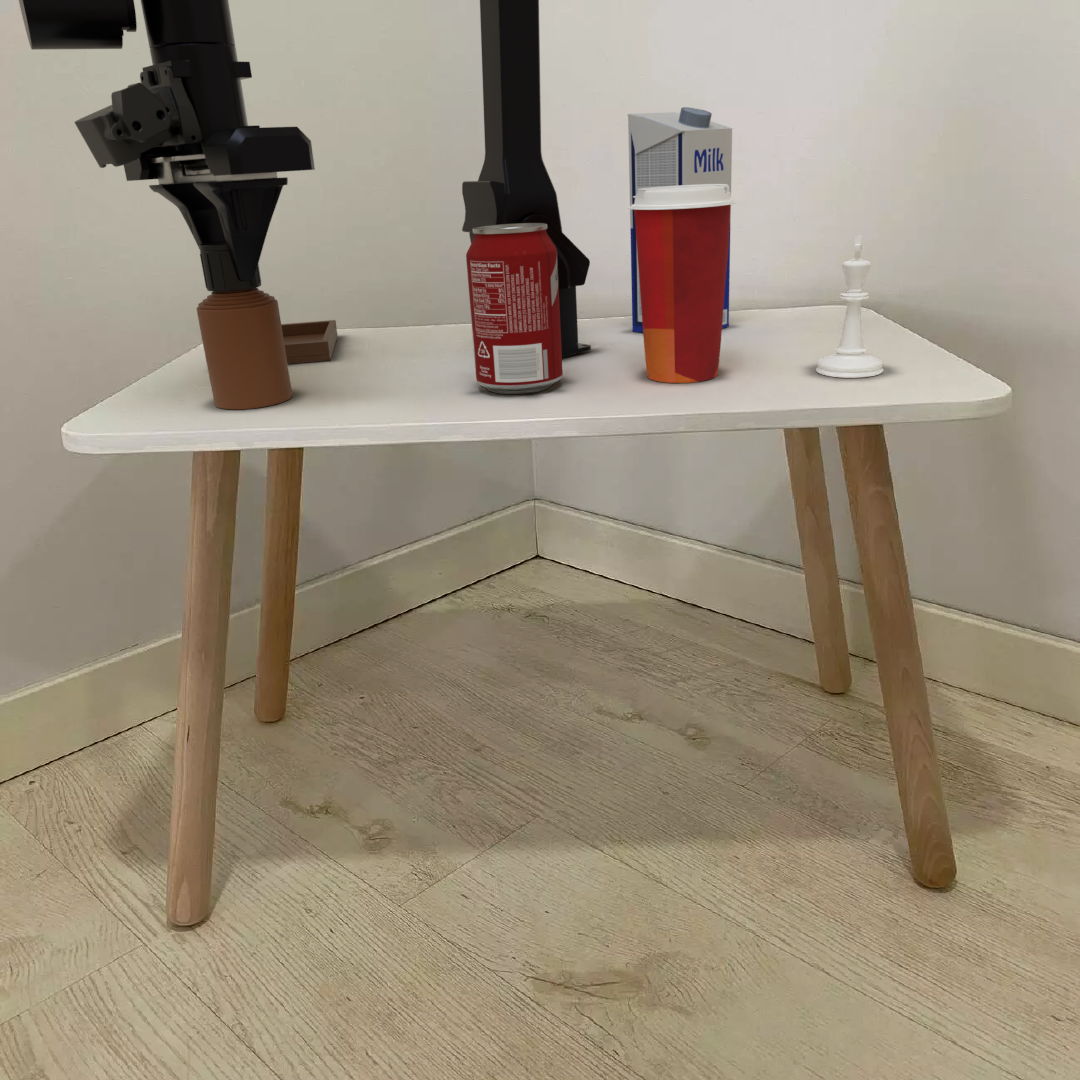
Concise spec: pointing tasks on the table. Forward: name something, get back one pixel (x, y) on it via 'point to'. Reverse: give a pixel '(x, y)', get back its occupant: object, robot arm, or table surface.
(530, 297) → the soda can
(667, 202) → the paper cup
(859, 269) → the chess piece
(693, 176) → the milk carton
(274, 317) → the bottle
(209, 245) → the cap
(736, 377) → the table surface
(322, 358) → the tray
